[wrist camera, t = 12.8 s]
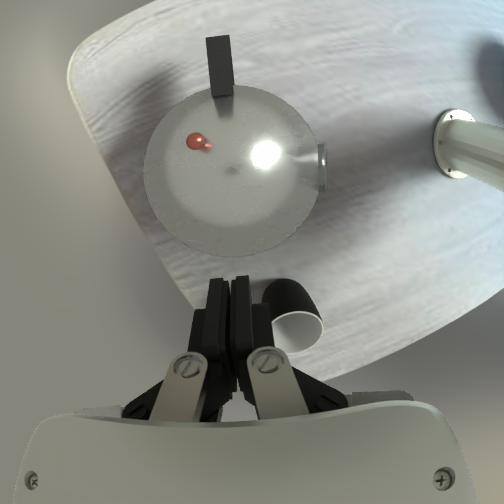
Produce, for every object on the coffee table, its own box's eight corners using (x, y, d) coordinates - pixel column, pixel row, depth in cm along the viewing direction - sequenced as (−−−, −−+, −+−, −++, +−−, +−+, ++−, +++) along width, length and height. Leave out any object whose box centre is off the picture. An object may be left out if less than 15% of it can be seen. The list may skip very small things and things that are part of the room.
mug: (253, 276, 46) (258, 317, 37) (307, 267, 46) (324, 305, 37) (262, 329, 52) (269, 371, 43) (309, 320, 52) (323, 360, 43)
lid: (315, 38, 22) (322, 32, 20) (324, 241, 33) (330, 251, 30) (129, 59, 21) (121, 56, 19) (165, 259, 32) (161, 271, 30)
